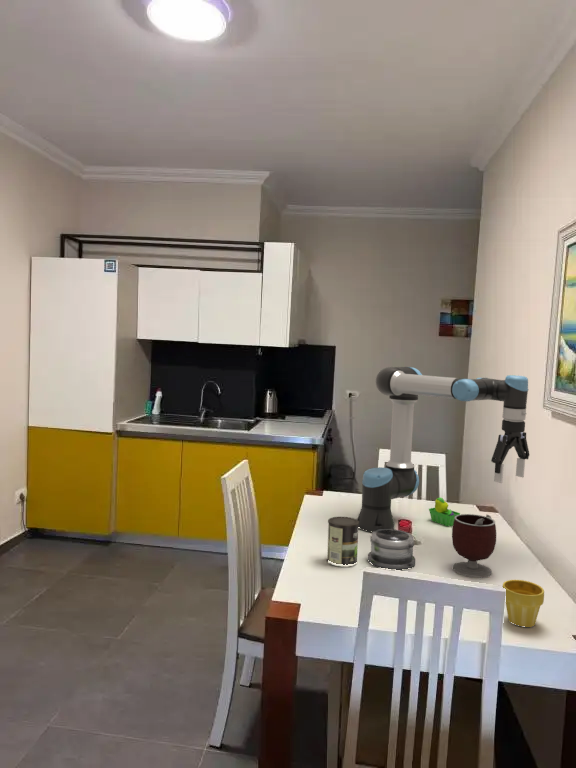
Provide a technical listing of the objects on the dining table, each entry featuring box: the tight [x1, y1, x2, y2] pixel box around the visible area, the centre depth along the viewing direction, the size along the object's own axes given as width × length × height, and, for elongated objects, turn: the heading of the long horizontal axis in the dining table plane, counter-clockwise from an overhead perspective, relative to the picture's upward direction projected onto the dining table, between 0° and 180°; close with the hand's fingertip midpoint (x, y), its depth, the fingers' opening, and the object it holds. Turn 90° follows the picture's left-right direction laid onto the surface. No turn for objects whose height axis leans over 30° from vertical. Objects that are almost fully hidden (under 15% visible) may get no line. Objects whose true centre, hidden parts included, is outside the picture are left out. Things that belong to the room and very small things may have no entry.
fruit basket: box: [428, 497, 461, 527], centre depth 246 cm, size 11×9×11 cm
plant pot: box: [502, 579, 545, 628], centre depth 157 cm, size 10×10×10 cm
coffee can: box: [326, 516, 359, 565], centre depth 197 cm, size 10×10×14 cm
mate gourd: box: [451, 513, 497, 579], centre depth 192 cm, size 16×14×20 cm
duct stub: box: [367, 528, 417, 571], centre depth 199 cm, size 16×16×9 cm
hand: (509, 479), depth 207 cm, fingers open, 13 cm apart
